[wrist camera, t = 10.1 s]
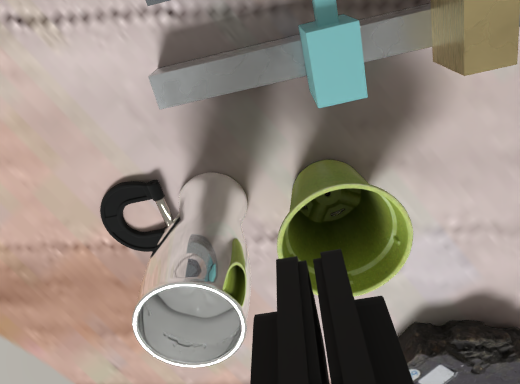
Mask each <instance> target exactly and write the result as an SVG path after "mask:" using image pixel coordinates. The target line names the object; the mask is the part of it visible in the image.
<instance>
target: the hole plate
mask: <svg viewBox="0 0 520 384" xmlns="http://www.w3.org/2000/svg"><path fill="white" fill-rule="evenodd" d="M165 1H169V0H146V3H147V6H150V5H154V4H158V3H162V2H165Z"/></svg>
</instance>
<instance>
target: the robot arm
mask: <svg viewBox="0 0 520 384" xmlns="http://www.w3.org/2000/svg"><path fill="white" fill-rule="evenodd" d="M320 255H321V258H317V259H313V264H314V271H315V277H316V284H317V291H318V297H319V304H320V311H321V317H322V324H323V331H324V338H325V344H326V351H327V358H328V364H329V371H330V378H331V384H414V382H413V379H412V377H411V374H410V371H409V368H408V365H407V362H406V360H405V357H404V354H403V351H402V348H401V346H400V343H399V340H398V337H397V334H396V331H395V329H394V326H393V323H392V320H391V317H390V314H389V312H388V309H387V306H386V303H385V301H384V298H383V297H382V296H377V297H370V298H364V299H357V300H354V297H353V293H352V289H351V285H350V281H349V277H348V274H347V270H346V266H345V262H344V258H343V254H342V251H341V249H336V250H330V251H324V252H320ZM276 271H277V312H271V313H264V314H257V315H255V317H254V324H253V344H252V363H251V383H250V384H329V378H328V371H327V364H326V357H325V350H324V344H323V338H322V333H321V328H320V323H319V319H318V314H317V309H316V304H315V299H314V294H313V290H312V285H311V280H310V275H309V270H308V265H307V261H306V260H304V261H298V257H297V256H294V257H288V258H282V259H277V260H276Z"/></svg>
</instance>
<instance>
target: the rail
mask: <svg viewBox="0 0 520 384" xmlns="http://www.w3.org/2000/svg"><path fill="white" fill-rule="evenodd" d="M359 23H360V32H361V41H362V50H363V59H364V62H368V61H372V60H377V59H381V58H385V57H390V56H394V55H398V54H403V53H407V52H411V51H416V50H420V49H424V48H429V47H432V23H431V3H428V4H424V5H420V6H416V7H412V8H407V9H403V10H399V11H395V12H391V13H387V14H382V15H378V16H374V17H370V18H366V19H362V20H359ZM519 27H520V16H519ZM303 76H307V72H306V67H305V61H304V55H303V49H302V43H301V38H300V34H299V35H295V36H291V37H287V38H282V39H278V40H274V41H270V42H266V43H262V44H257V45H253V46H249V47H245V48H241V49H237V50H232V51H228V52H224V53H220V54H216V55H212V56H207V57H203V58H199V59H195V60H191V61H187V62H182V63H178V64H174V65H170V66H166V67H162V68H157V69H156V70H155V71H154V72H153V73H152V74H151V75H150V76H149V80H150V83H151V86H152V89H153V92H154V95H155V97H156V100H157V103H158V106H159V109H164V108H168V107H173V106H177V105H181V104H186V103H190V102H194V101H199V100H203V99H207V98H212V97H216V96H220V95H225V94H229V93H233V92H238V91H242V90H246V89H251V88H255V87H259V86H264V85H268V84H272V83H277V82H281V81H285V80H290V79H294V78H298V77H303Z"/></svg>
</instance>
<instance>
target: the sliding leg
mask: <svg viewBox="0 0 520 384" xmlns="http://www.w3.org/2000/svg"><path fill="white" fill-rule="evenodd" d="M312 3H313V9H314V16H315V21H314V22H310V23H306V24H302V25H298V26H299V32H300V38H301V43H302V49H303V55H304V61H305V67H306V72H307V78H308V84H309V90H310V92H311V94H312V96H313V98H314V101H315V103H316V105H317V107H318V108H323V107H327V106H332V105H336V104H341V103H345V102H350V101H354V100H359V99H363V98H368V95H367V86H366V77H365V68H364V59H363V50H362V41H361V32H360V23H359V20H357V19H354V18H352V17H349V16H347V15H344V14H343V15H339V16H338V12H337V4H336V0H312Z"/></svg>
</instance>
